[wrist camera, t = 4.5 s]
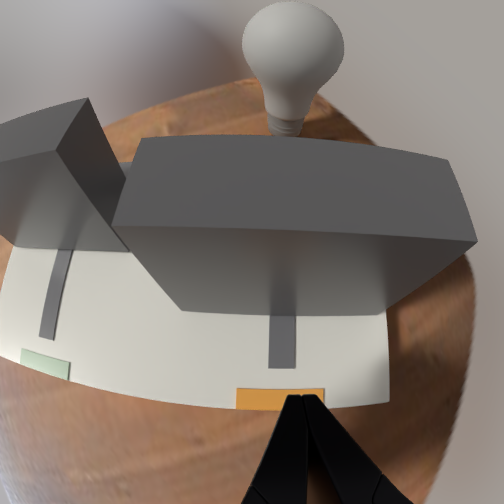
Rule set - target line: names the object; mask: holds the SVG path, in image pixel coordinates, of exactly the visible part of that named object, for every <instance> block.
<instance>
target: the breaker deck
mask: <svg viewBox="0 0 504 504" xmlns="http://www.w3.org/2000/svg"><path fill="white" fill-rule="evenodd" d="M131 164H132V162H123V163H119V165H120V167H121V169H122V171H123V173H124V175H125V177H126V178H127V175H128V172H129V170H130V167H131ZM0 356H2V357H4V358H7V359H9V360H11V361H14V362H16V363H19V364H21V365H24V366H26V367H29V368H32V369H35V370H37V371H40V372H43V373H46V374H49V375H52V376H55V377H58V378H62V379H65V380H69V381H72V382H76V383H79V384H83V385H87V386H90V387H94V388H98V389H102V390H107V391H111V392H115V393H120V394H125V395H130V396H135V397H140V398H146V399H151V400H157V401H164V402H171V403H178V404H186V405H195V406H204V407H216V408H229V409H244V410H281V409H282V407H283V404H284V402H285V399H286V396H287V395H288V394H300V395H301V396H302V395H303V394H316V395H317V396H318V397H319V398H320V399H321V401H322V402H323V403H324V404H325V406H326V407H327V408H341V407H352V406H361V405H370V404H377V403H385V402H389V351H388V333H387V320H386V310H384V311H383V312H381V313H379V314H378V315H368V316H269V315H241V314H220V313H203V312H188V311H181V310H180V309H179V308H178V306H177V305H176V304H175V303H174V302H173V301H172V300H171V299H170V297H169V296H168V295H167V294H166V293H165V292H164V290H163V289H162V288H161V287H160V286H159V285H158V284H157V282H156V281H155V280H154V279H153V278H152V276H151V275H150V274H149V273H148V272H147V270H146V269H145V268H144V267H143V266H142V264H141V263H140V262H139V261H138V259H137V258H136V257H135V256H134V254H133V253H132V252H131V251H129V252H118V251H93V250H70V249H47V248H24V247H15V246H13V250H12V253H11V256H10V259H9V262H8V266H7V269H6V273H5V277H4V280H3V284H2V288H1V292H0Z"/></svg>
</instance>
